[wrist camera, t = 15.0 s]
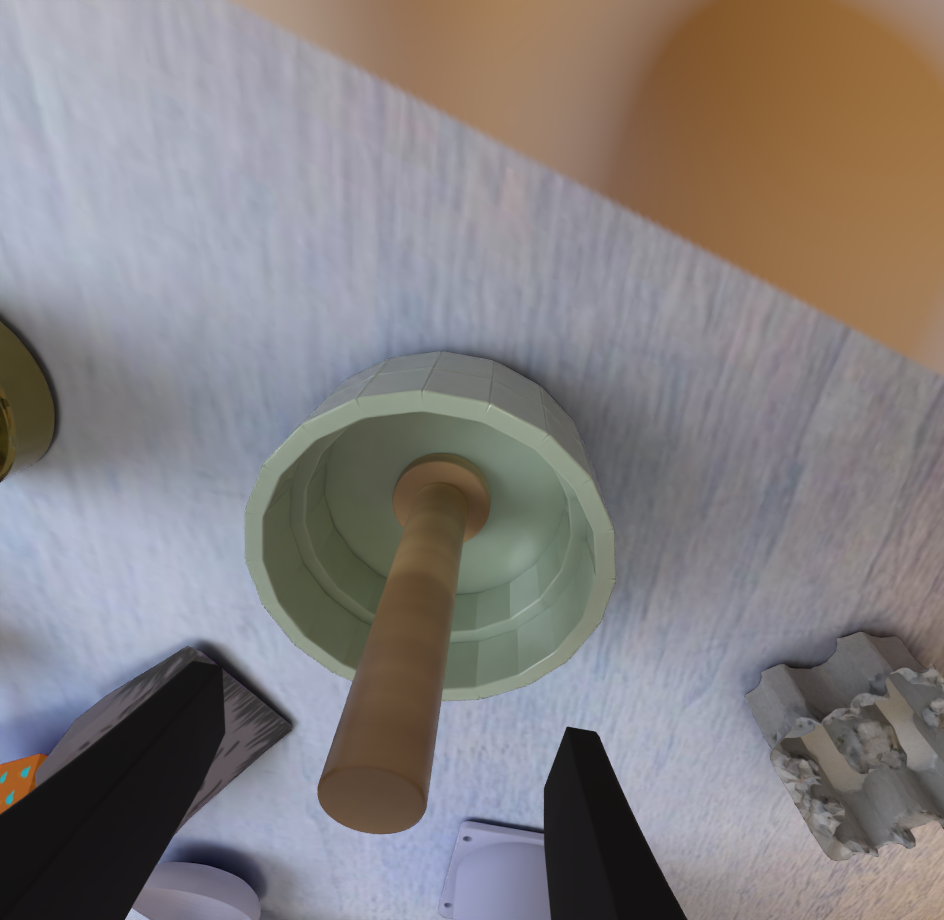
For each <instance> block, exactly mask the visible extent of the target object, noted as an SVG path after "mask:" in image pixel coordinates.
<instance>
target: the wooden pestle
mask: <svg viewBox="0 0 944 920" xmlns="http://www.w3.org/2000/svg"><path fill="white" fill-rule="evenodd" d="M490 501H491V494H490V489H489V485H488V483H487V481H486V479H485V477H484V475H483V474H482V473H481V471H480V470H479V469H478V468H477V467H476V466H474V465H473V464H472V463H470V462H469V461H467V460H465V459H464V458H461V457H459V456H456V455H452V454H445V453H436V454H429V455H425V456H422V457H420V458H418V459H416V460H414V461H413V462H411V463H410V464H409V465H408V466H407V467H406V468H405V469H404V470H403V471H402V473H401V474H400V476H399V478H398V480H397V483H396V485H395V488H394V491H393V496H392V505H393V510H394V514H395V516H396V519H397V520H398V522H399V524H400V525H401V526H402V528H403V529H404V530H403V533H402V536H401V539H400V542H399V545H398V548H397V551H396V554H395V557H394V560H393V563H392V566H391V569H390V572H389V575H388V578H387V581H386V584H385V587H384V590H383V593H382V596H381V599H380V602H379V605H378V608H377V611H376V614H375V617H374V620H373V623H372V626H371V629H370V632H369V635H368V638H367V641H366V644H365V647H364V650H363V653H362V656H361V659H360V662H359V665H358V667H357V670H356V673H355V676H354V679H353V682H352V685H351V688H350V691H349V694H348V697H347V700H346V703H345V706H344V709H343V712H342V715H341V718H340V721H339V724H338V727H337V730H336V733H335V736H334V739H333V742H332V745H331V748H330V751H329V754H328V757H327V760H326V763H325V766H324V769H323V772H322V775H321V778H320V781H319V784H318V799H319V802H320V804H321V806H322V808H323V809H324V811H325V812H326V813H327V814H328V815H329V816H330V817H331V818H333V819H334V820H335V821H337V822H338V823H340V824H342V825H344V826H346V827H348V828H351V829H353V830H357V831H360V832H365V833H371V834H391V833H397V832H401V831H404V830H407V829H409V828H411V827H412V826H414V825H415V824H417V823H418V822H419V821H420V819H421V818H422V816H423V815H424V813H425V811H426V808H427V801H428V793H429V786H430V779H431V772H432V765H433V757H434V750H435V743H436V736H437V728H438V721H439V714H440V707H441V700H442V692H443V685H444V678H445V671H446V664H447V656H448V649H449V642H450V635H451V627H452V620H453V613H454V606H455V599H456V591H457V584H458V577H459V570H460V563H461V555H462V548H463V543H464V542H466V541H468V540H470V539H471V538H473V537H474V536H475V535H477V534H478V533H479V532H480V531H481V530H482V528H483V527H484V525H485V524H486V522H487V519H488V516H489V512H490Z"/></svg>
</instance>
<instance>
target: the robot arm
mask: <svg viewBox="0 0 944 920" xmlns="http://www.w3.org/2000/svg"><path fill="white" fill-rule="evenodd" d="M225 733H226V732H225V710H224V689H223V668H222V666H221V665H216V664H210V663H204V662H199V661H192V662H190V663H188V664H187V665H186V666H185V667H183V668H182V669H181V670H180V671H179V672H178V673H177V674H175V675H174V676H173V677H172V678H171V679H170V680H169V681H167V682H166V683H165V684H164V685H163V686H162V687H160V688H159V689H158V690H157V691H156V692H155V693H154V694H152V695H151V696H150V697H149V698H148V699H147V700H145V701H144V702H143V703H142V704H141V705H139V706H138V707H137V708H136V709H135V710H133V711H132V712H131V713H130V714H129V715H128V716H126V717H125V718H124V719H123V720H122V721H120V722H119V723H118V724H117V725H115V726H114V727H113V728H112V729H111V730H109V731H108V732H107V733H106V734H104V735H103V736H102V737H101V738H99V739H98V740H97V741H96V742H94V743H93V744H92V745H91V746H90V747H88V748H87V749H86V750H85V751H83V752H82V753H81V754H80V755H78V756H77V757H76V758H75V759H73V760H72V761H71V762H69V763H68V764H67V765H65V766H64V767H63V768H61V769H60V770H59V771H57V772H56V773H55V774H54V775H52V776H51V777H50V778H48V779H47V780H46V781H44V782H43V783H42V784H40V785H39V786H38V787H36V788H35V789H34V790H32V791H31V792H30V793H28V794H27V795H26V796H24V797H23V798H22V799H20V800H19V801H18V802H16V803H15V804H13V805H12V806H11V807H9V808H8V809H7V810H5V811H4V812H2V813H1V814H0V920H125V918H126V917H127V915H128V913H129V911H130V910H131V908H132V906H133V904H134V903H135V901H136V899H137V898H138V896H139V894H140V892H141V891H142V889H143V887H144V885H145V884H146V882H147V880H148V878H149V877H150V875H151V873H152V872H153V870H154V868H155V866H156V865H157V863H158V861H159V859H160V858H161V856H162V854H163V853H164V851H165V849H166V847H167V846H168V844H169V842H170V840H171V839H172V837H173V835H174V834H175V832H176V830H177V828H178V827H179V825H180V823H181V821H182V820H183V818H184V816H185V814H186V813H187V811H188V809H189V807H190V806H191V804H192V802H193V800H194V799H195V797H196V795H197V793H198V791H199V790H200V788H201V786H202V784H203V782H204V779H205V777H206V775H207V773H208V771H209V769H210V767H211V764H212V762H213V760H214V758H215V755H216V753H217V751H218V749H219V746H220V744H221V742H222V739H223V737H224V735H225ZM438 914H439V915H440V916H442V917H445V918H451V919H453V920H687V918H686V916H685V914H684V912H683V910H682V909H681V907H680V905H679V903H678V901H677V900H676V898H675V896H674V894H673V892H672V890H671V889H670V887H669V885H668V883H667V881H666V879H665V877H664V875H663V873H662V871H661V869H660V868H659V866H658V864H657V862H656V860H655V858H654V856H653V854H652V852H651V850H650V848H649V846H648V844H647V841H646V839H645V837H644V835H643V833H642V831H641V829H640V827H639V825H638V823H637V821H636V819H635V817H634V815H633V813H632V811H631V808H630V806H629V804H628V802H627V800H626V797H625V795H624V793H623V791H622V789H621V786H620V784H619V782H618V780H617V777H616V775H615V773H614V771H613V768H612V766H611V764H610V761H609V759H608V756H607V754H606V752H605V749H604V747H603V744H602V742H601V739H600V737H599V735H598V734H597V733H596V732H594V731H589V730H583V729H577V728H572V727H567V728H566V730H565V733H564V736H563V738H562V741H561V744H560V747H559V749H558V752H557V755H556V757H555V760H554V763H553V765H552V768H551V771H550V773H549V776H548V779H547V782H546V784H545V787H544V834H541V833H536V832H530V831H524V830H518V829H513V828H507V827H501V826H495V825H490V824H484V823H478V822H472V821H466V822H464V823H462V824H461V826H460V830H459V833H458V837H457V841H456V844H455V848H454V852H453V855H452V859H451V862H450V866H449V870H448V873H447V877H446V881H445V884H444V888H443V892H442V895H441V899H440V903H439V907H438Z"/></svg>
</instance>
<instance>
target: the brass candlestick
mask: <svg viewBox="0 0 944 920" xmlns="http://www.w3.org/2000/svg"><path fill="white" fill-rule="evenodd" d="M54 425H55V412H54V405H53V400H52V396H51V393H50V389H49V387H48V384H47V382H46V379H45V377H44V375H43V373H42V371H41V369H40V367H39V366H38V364H37V362H36V361H35V359H34V358H33V356H32V355H31V353H30V352H29V351H28V349H27V348H26V347H25V346H24V344H23V343H22V342H21V341H20V340H19V339H18V338H17V336H16V335H15V334H14V333H13V332H12V331H11V330H10V329H8V328H7V327H6V326H5V325H4V324H3V323H2V322H1V321H0V482H1V481H3V480H5V479H7V478H9V477H11V476H13V475H15V474H16V473H18V472H20V471H22V470H24V469H26V468H28V467H30V466H32V465H33V464H34V463H36V462H37V461H38V460H39V459H40V458H41V457H42V456H43V455H44V453H45V452H46V450H47V449H48V447H49V445H50V442H51V440H52V436H53V432H54Z"/></svg>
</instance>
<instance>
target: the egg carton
mask: <svg viewBox="0 0 944 920" xmlns="http://www.w3.org/2000/svg"><path fill="white" fill-rule="evenodd" d="M836 641H837V644H838V645H837V648H836V651H835V653H834V654H833V655H832V656H831V657H830V658H829V659H828V661H827V662H825V663H823V664H821V665H820V666H815V667H813V668H812V669H801V668H800V669H794V668H789V667H788V666H786V665H784V664H780V665H777V666H775V667H772V668H770V669H767V670H765V671H763V672H761V676H762V678H761V681H760V684H759V685H758V686H757V687H756V688H755V689H754V690H753V691H751V692H750V693H748V694H746V695H745V699H746V701H747V703H748V705H749V707H750V709H751V711H752V713H753V715H754V717H755V719H756V721H757V723H758V725H759V727H760V729H761V731H762V733H763V735H764V737H765V739H766V741H767V742H768V744H769V746H770V747H771V749H772V752H771V755H770V759H771V761H772V764H773V766H774V767H775V769H776V771H777V773H778V774H779V776H780V778H781V780H782V782H783V784H784V785H785V787H786V789H787V790H788V792H789V794H790V795H791V797H792V799H793V801H794V804H795V805H796V806H797V808H798V809H799V811H800V813H801V815H802V817H803V818H804V820H805V822H806V823H807V825H808V827H809V829H810V831H811V833H812V834H813V836H814V837H815V839H816V840H817V842H818V843H819V845H820V847H821V848H822V850H823V851H824V853H825V854H826V855H827V856H828V857H829V858H830V859H831V860H834V861H840V860H848V859H849V858H851V857H852V855H854V854H868V855H873V856H876V857H878V856H879V854H878V850H877V849H879V848H880V847H882V846H884V845H888V844H892V843H895V844H901V845H903V846H904V847H906V848H908V849H911V848H913V847H915V846H916V844H915V837H914V836H913V834H912V833H911V831H910V829H912V828H914V827H917V826H921V825H924V824H926V823H929V822H932V821H934V820H936V821H938V822H939V823H940V824H941V825H942V828H943V829H944V678H943V677H942V675H941V674H940V673H939V671H938V670H937V669H936V667H935V666H934V665H932V664H931V663H929V668H928V669H927V668H925V667H924V666H923V665H921V664H920V663H918V662H917V661H916V660H915V659H914V658H913V656H912V655H911V653H910V652H909V650H908V649H907V648H906V646H905V644H904V643H903V642H902V641H901V640H900V639H899V638H898V637H896V636H894V637H884V638H879V637H873V636H870V635H868V634H867V633H864V632H858V633H854V634H852V635H849V636H846V637H842V638H838V639H837V640H836Z"/></svg>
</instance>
